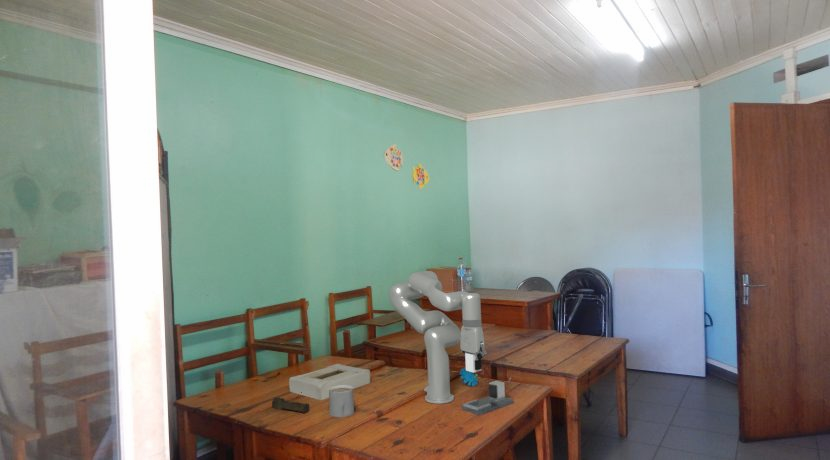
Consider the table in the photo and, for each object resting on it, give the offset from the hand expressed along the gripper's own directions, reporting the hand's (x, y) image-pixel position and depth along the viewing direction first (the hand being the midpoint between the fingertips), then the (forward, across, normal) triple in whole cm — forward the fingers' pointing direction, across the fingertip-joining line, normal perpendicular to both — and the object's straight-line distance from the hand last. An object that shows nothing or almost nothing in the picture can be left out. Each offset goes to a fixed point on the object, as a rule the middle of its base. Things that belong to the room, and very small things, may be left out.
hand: (473, 367), depth 212 cm
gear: (+18, -28, +24) cm, 40 cm away
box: (+18, -71, -28) cm, 78 cm away
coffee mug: (+17, -36, -40) cm, 57 cm away
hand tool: (+18, -54, -57) cm, 80 cm away
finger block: (+1, 0, 0) cm, 1 cm away
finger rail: (+17, 0, +8) cm, 19 cm away
